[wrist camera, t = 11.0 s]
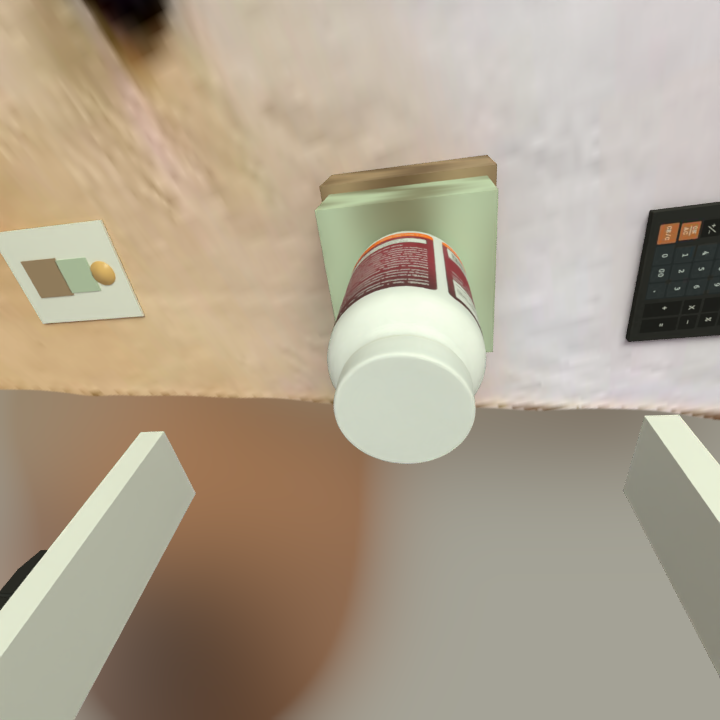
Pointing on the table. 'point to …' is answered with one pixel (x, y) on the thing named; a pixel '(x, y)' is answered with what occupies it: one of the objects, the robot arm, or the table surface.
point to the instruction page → (70, 272)
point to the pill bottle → (406, 351)
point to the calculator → (678, 275)
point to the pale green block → (415, 220)
